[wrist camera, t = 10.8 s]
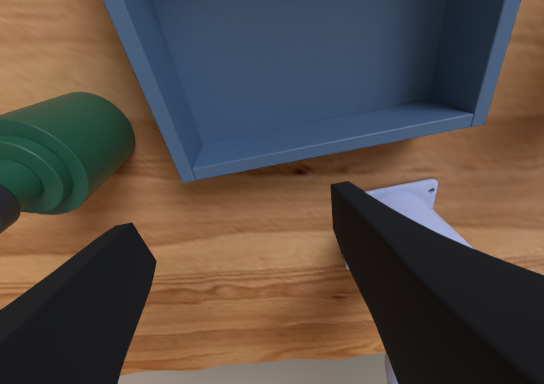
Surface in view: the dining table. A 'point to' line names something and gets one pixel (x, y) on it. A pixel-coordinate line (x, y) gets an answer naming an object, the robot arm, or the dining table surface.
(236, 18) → the tub
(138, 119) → the dining table surface
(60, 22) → the dining table surface
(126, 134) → the bottle
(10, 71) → the dining table surface
